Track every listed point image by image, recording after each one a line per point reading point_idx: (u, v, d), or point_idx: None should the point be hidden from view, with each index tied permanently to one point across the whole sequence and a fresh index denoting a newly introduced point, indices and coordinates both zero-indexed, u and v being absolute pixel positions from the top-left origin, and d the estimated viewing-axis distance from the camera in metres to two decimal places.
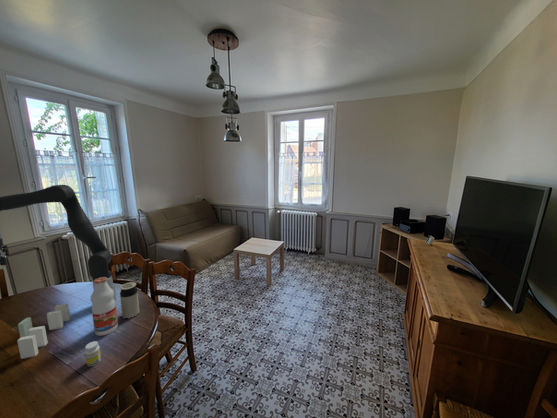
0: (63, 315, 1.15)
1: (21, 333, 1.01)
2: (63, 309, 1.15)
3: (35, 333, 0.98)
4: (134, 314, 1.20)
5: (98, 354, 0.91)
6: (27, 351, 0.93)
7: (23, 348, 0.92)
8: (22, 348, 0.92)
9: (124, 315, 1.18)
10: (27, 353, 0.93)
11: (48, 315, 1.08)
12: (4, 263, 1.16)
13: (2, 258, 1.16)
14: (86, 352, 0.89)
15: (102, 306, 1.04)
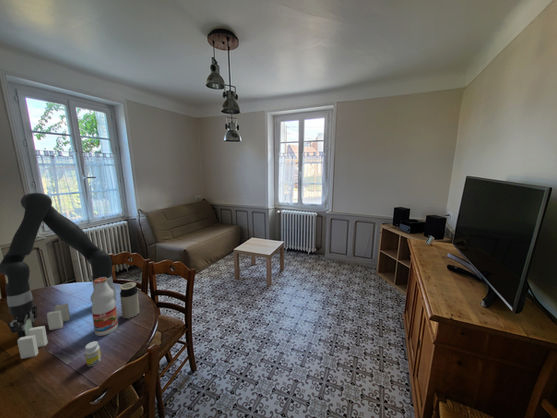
0: (63, 315, 1.15)
1: None
2: (63, 309, 1.15)
3: (35, 333, 0.98)
4: (134, 314, 1.20)
5: (98, 354, 0.91)
6: (27, 351, 0.93)
7: (23, 348, 0.92)
8: (22, 348, 0.92)
9: (124, 315, 1.18)
10: (27, 353, 0.93)
11: (48, 315, 1.08)
12: (32, 327, 1.06)
13: None
14: (86, 352, 0.89)
15: (102, 306, 1.04)
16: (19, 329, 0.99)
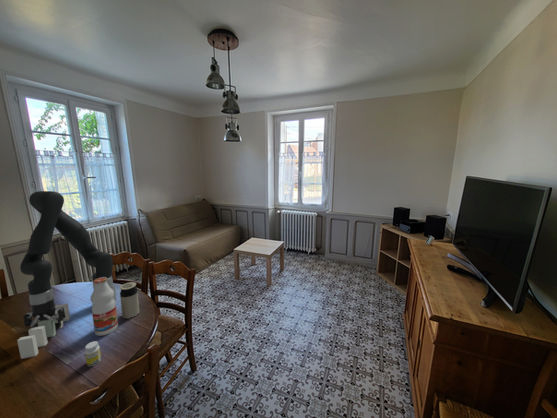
0: None
1: None
2: None
3: (35, 333, 0.98)
4: (134, 314, 1.20)
5: (98, 354, 0.91)
6: (27, 351, 0.93)
7: (23, 348, 0.92)
8: (22, 348, 0.92)
9: (124, 315, 1.18)
10: (27, 353, 0.93)
11: None
12: None
13: None
14: (86, 352, 0.89)
15: (102, 306, 1.04)
16: (25, 324, 1.01)
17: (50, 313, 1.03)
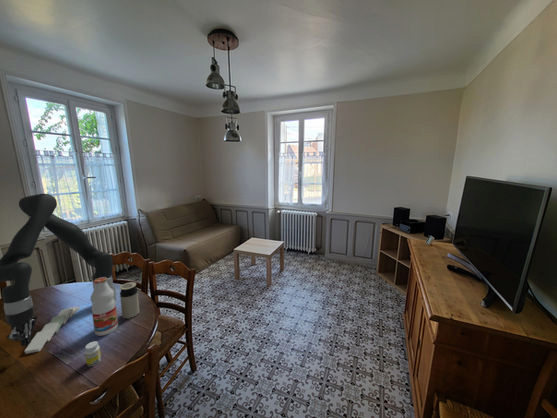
0: None
1: None
2: (74, 309, 1.24)
3: (49, 326, 1.06)
4: (134, 314, 1.20)
5: (98, 354, 0.91)
6: (36, 343, 0.98)
7: (35, 339, 0.99)
8: (34, 340, 0.99)
9: (124, 315, 1.18)
10: (34, 345, 0.97)
11: (62, 311, 1.19)
12: None
13: None
14: (86, 352, 0.89)
15: (102, 306, 1.04)
16: (22, 337, 0.89)
17: None
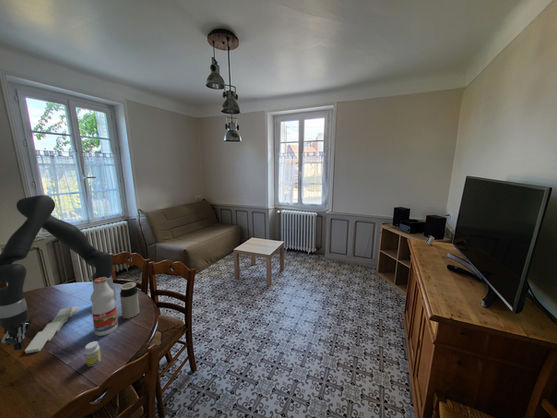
0: None
1: None
2: (74, 308, 1.25)
3: (51, 326, 1.07)
4: (134, 314, 1.20)
5: (98, 354, 0.91)
6: (36, 343, 0.98)
7: (36, 339, 0.99)
8: (35, 340, 0.99)
9: (124, 315, 1.18)
10: (34, 345, 0.97)
11: (61, 310, 1.19)
12: None
13: None
14: (86, 352, 0.89)
15: (102, 306, 1.04)
16: (15, 341, 0.87)
17: None
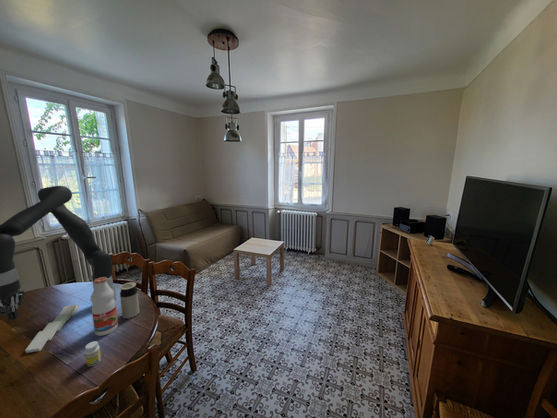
0: None
1: None
2: None
3: (51, 325, 1.07)
4: (134, 314, 1.20)
5: (98, 354, 0.91)
6: (36, 342, 0.98)
7: (36, 339, 0.99)
8: (35, 339, 0.99)
9: (124, 315, 1.18)
10: (35, 344, 0.97)
11: (65, 307, 1.21)
12: None
13: None
14: (86, 352, 0.89)
15: (102, 306, 1.04)
16: (9, 310, 0.87)
17: None
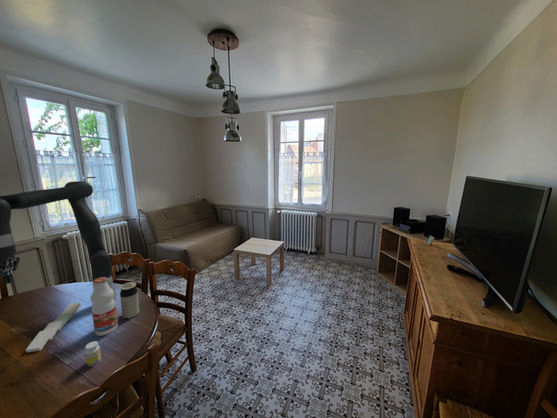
0: None
1: None
2: None
3: (52, 325, 1.08)
4: (134, 314, 1.20)
5: (98, 354, 0.91)
6: (37, 342, 0.98)
7: (37, 338, 1.00)
8: (36, 339, 0.99)
9: (124, 315, 1.18)
10: (35, 344, 0.97)
11: (70, 304, 1.23)
12: (10, 280, 0.93)
13: None
14: (86, 352, 0.89)
15: (102, 306, 1.04)
16: (3, 273, 0.90)
17: None
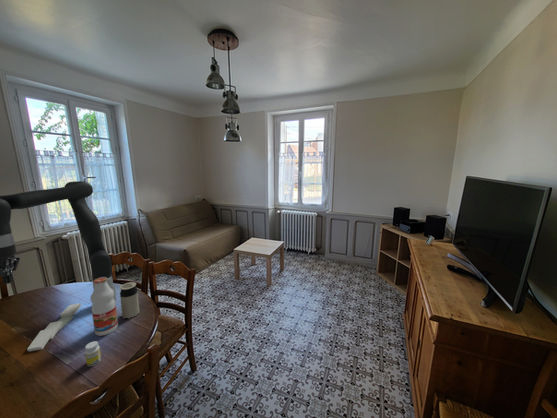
0: None
1: None
2: None
3: (53, 325, 1.08)
4: (134, 314, 1.20)
5: (98, 354, 0.91)
6: (38, 341, 0.99)
7: (38, 338, 1.00)
8: (37, 338, 1.00)
9: (124, 315, 1.18)
10: (37, 343, 0.98)
11: (70, 305, 1.25)
12: None
13: None
14: (86, 352, 0.89)
15: (102, 306, 1.04)
16: (3, 273, 0.90)
17: None
